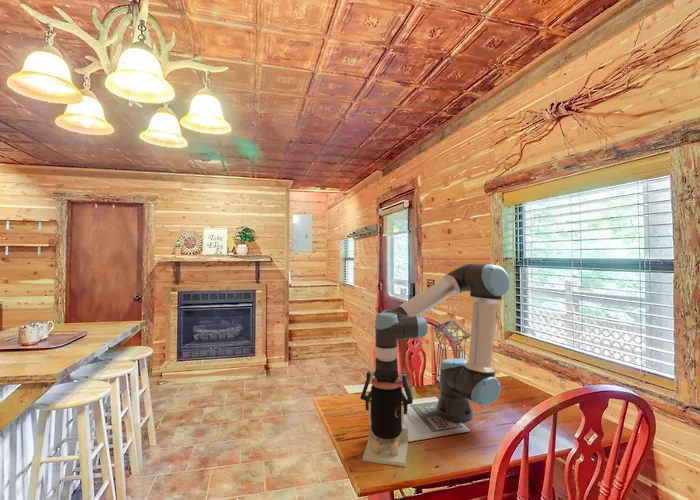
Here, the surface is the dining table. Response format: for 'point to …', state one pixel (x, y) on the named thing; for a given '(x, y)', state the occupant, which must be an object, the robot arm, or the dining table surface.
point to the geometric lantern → (450, 340)
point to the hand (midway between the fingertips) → (386, 421)
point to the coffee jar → (386, 409)
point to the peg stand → (387, 449)
